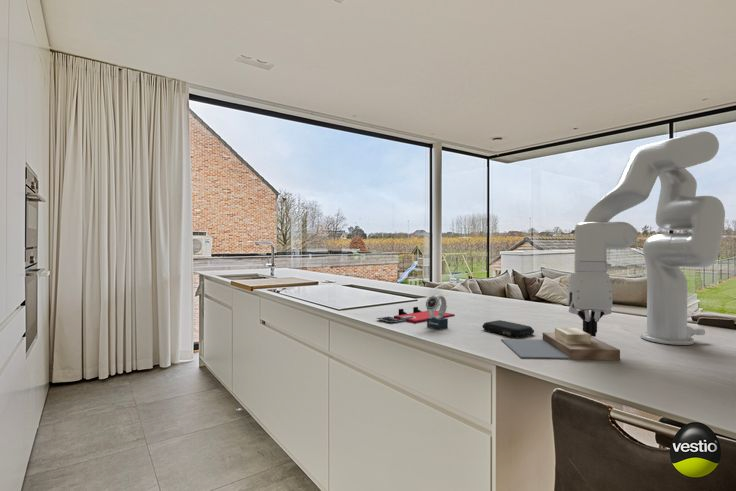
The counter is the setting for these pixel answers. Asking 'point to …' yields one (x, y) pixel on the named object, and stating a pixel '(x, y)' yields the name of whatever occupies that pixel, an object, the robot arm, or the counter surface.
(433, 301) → the watch
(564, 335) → the birch tile
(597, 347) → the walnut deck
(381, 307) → the counter surface
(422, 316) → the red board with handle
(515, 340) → the rubber mat
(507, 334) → the carrying case or bag
